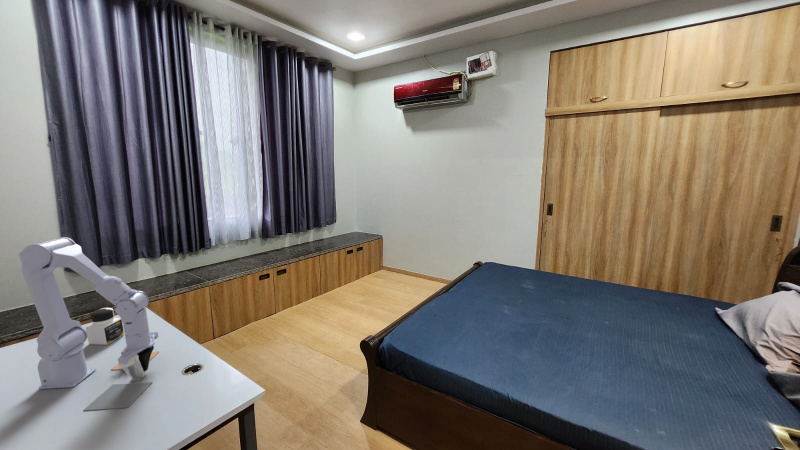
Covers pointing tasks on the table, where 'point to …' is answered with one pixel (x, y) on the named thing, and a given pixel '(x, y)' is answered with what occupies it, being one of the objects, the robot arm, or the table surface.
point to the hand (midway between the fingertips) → (143, 370)
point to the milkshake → (133, 368)
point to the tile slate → (118, 396)
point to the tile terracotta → (122, 369)
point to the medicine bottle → (104, 327)
